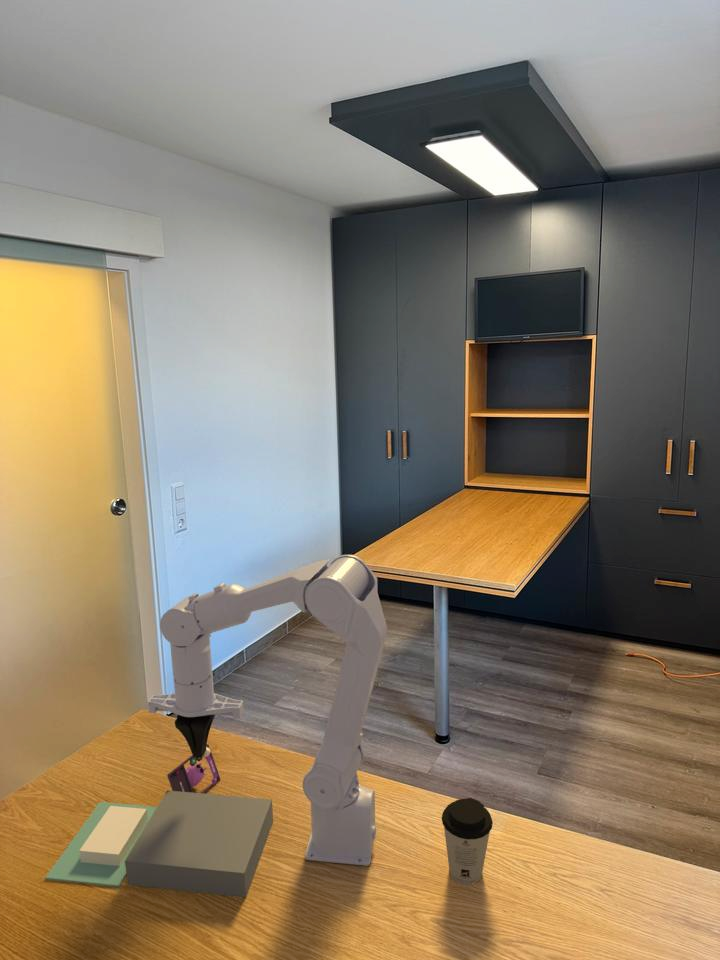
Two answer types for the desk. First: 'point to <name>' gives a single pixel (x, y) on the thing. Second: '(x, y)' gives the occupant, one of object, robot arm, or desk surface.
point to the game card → (193, 774)
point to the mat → (91, 873)
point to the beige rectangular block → (114, 836)
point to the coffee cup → (466, 838)
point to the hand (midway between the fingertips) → (199, 753)
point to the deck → (201, 844)
